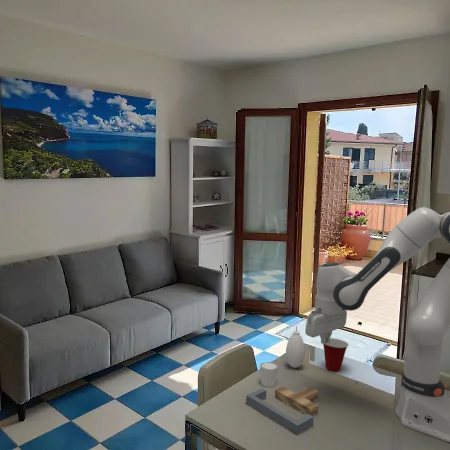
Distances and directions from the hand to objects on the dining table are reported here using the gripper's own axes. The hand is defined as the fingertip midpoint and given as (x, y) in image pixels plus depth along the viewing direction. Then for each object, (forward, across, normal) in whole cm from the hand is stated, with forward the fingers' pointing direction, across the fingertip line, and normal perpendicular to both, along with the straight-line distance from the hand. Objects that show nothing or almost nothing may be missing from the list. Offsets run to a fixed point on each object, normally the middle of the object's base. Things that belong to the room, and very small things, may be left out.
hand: (325, 343), depth 158 cm
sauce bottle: (+19, +8, +20) cm, 29 cm away
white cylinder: (+19, -11, +17) cm, 28 cm away
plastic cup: (+19, +20, +9) cm, 29 cm away
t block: (+19, -11, 0) cm, 22 cm away
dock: (+19, -23, 0) cm, 30 cm away
